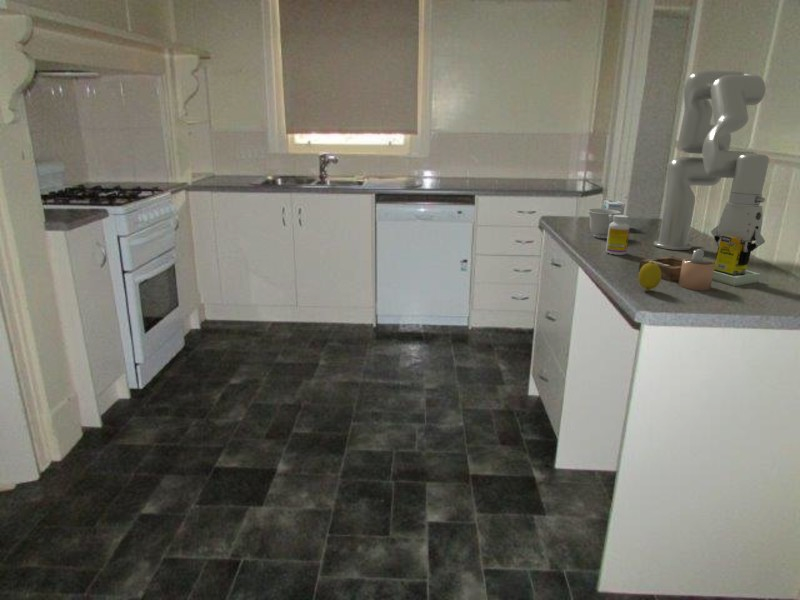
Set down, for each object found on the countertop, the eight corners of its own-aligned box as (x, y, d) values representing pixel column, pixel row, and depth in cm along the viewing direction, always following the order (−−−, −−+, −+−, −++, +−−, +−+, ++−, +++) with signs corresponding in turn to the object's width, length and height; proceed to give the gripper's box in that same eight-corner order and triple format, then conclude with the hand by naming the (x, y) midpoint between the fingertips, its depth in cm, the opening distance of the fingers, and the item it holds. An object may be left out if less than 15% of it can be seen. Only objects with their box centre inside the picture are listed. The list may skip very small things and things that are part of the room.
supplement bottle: (627, 256, 191) (633, 218, 187) (606, 254, 192) (611, 217, 188) (624, 251, 197) (629, 214, 193) (604, 250, 198) (609, 213, 194)
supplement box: (732, 277, 161) (740, 239, 158) (713, 272, 166) (720, 235, 163) (745, 275, 164) (753, 237, 161) (726, 270, 169) (733, 233, 166)
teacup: (592, 241, 213) (596, 214, 210) (580, 233, 227) (583, 208, 224) (625, 241, 213) (629, 215, 210) (610, 234, 227) (614, 208, 224)
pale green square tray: (722, 272, 173) (724, 264, 172) (758, 282, 163) (760, 273, 162) (698, 276, 168) (700, 268, 167) (733, 286, 159) (735, 277, 158)
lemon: (632, 287, 155) (637, 259, 153) (652, 287, 156) (656, 259, 153) (642, 293, 150) (647, 264, 147) (662, 293, 150) (667, 264, 148)
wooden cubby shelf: (670, 267, 178) (672, 255, 177) (702, 275, 169) (704, 263, 167) (638, 271, 172) (640, 259, 171) (669, 280, 162) (671, 268, 161)
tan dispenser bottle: (691, 280, 163) (697, 245, 160) (716, 288, 156) (724, 251, 153) (671, 283, 160) (678, 247, 156) (697, 291, 153) (704, 253, 150)
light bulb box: (600, 224, 247) (603, 199, 243) (616, 225, 246) (619, 200, 243) (605, 229, 237) (608, 203, 233) (621, 230, 236) (625, 204, 232)
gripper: (784, 203, 153) (769, 268, 158) (724, 194, 167) (712, 254, 173) (767, 204, 150) (752, 270, 155) (707, 195, 164) (696, 256, 170)
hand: (731, 261), depth 164 cm, fingers closed on supplement box, 6 cm apart
